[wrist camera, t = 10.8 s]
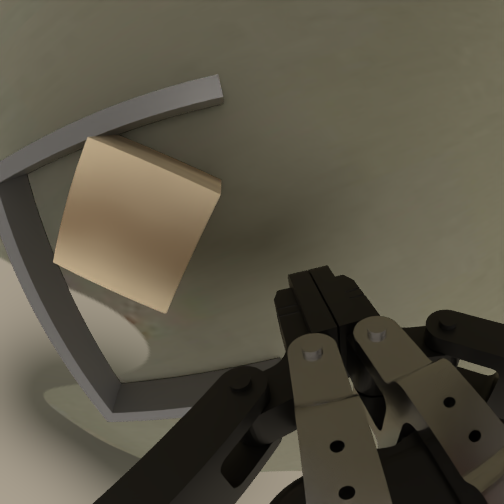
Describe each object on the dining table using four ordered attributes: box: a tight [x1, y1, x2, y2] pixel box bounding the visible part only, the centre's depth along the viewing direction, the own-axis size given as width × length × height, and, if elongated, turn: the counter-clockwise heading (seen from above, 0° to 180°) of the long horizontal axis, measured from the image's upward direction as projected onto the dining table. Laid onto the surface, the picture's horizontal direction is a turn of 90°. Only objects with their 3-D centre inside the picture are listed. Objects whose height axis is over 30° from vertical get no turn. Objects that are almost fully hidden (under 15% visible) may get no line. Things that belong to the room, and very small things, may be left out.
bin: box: [0, 74, 281, 422], centre depth 15 cm, size 18×13×3 cm
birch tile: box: [53, 135, 221, 314], centre depth 14 cm, size 6×6×4 cm
